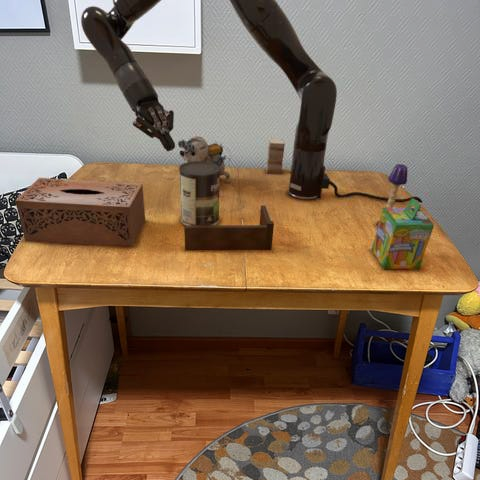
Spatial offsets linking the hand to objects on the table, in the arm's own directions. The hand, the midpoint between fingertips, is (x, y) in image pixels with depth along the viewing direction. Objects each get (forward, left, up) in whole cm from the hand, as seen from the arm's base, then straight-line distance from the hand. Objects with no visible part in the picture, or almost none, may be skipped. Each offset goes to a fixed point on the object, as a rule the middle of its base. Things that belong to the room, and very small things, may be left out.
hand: (171, 149), depth 119 cm
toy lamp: (-57, +10, -17) cm, 60 cm away
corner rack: (-13, +17, -17) cm, 27 cm away
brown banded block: (-33, -32, -17) cm, 49 cm away
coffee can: (-7, +6, -17) cm, 19 cm away
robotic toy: (-9, -20, -17) cm, 27 cm away
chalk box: (-53, +28, -17) cm, 62 cm away
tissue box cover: (+21, +12, -17) cm, 30 cm away
